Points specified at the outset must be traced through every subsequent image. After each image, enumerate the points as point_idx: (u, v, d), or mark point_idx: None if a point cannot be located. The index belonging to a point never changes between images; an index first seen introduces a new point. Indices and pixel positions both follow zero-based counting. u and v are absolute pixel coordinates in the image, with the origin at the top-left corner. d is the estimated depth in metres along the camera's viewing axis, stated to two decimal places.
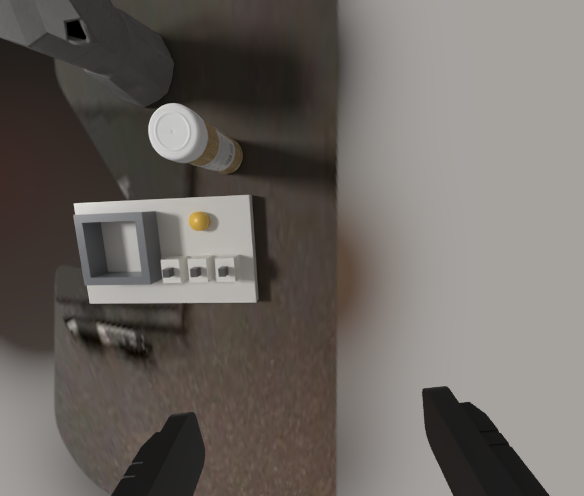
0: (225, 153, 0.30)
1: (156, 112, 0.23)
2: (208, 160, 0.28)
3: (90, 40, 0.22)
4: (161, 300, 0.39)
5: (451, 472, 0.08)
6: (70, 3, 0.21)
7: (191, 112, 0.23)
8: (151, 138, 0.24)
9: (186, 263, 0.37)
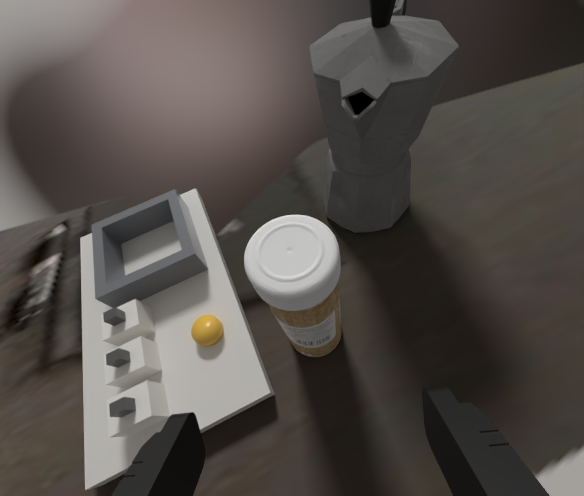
0: (309, 336, 0.18)
1: (308, 218, 0.14)
2: (282, 319, 0.16)
3: (357, 118, 0.16)
4: (85, 319, 0.27)
5: (451, 472, 0.08)
6: (386, 87, 0.16)
7: (334, 267, 0.12)
8: (266, 225, 0.14)
9: (141, 335, 0.24)
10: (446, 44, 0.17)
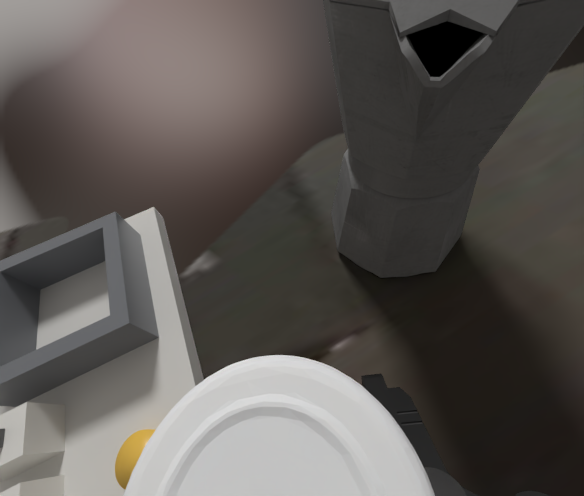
0: None
1: (327, 382, 0.04)
2: None
3: (442, 81, 0.06)
4: None
5: None
6: (511, 6, 0.06)
7: None
8: (198, 398, 0.05)
9: (38, 460, 0.15)
10: None
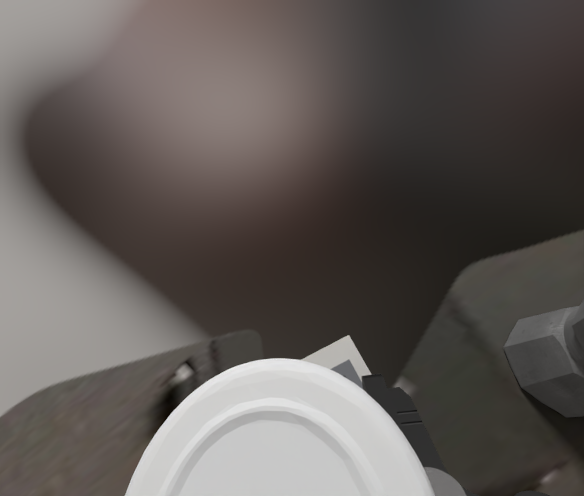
0: None
1: (328, 386, 0.04)
2: None
3: None
4: None
5: None
6: None
7: None
8: (198, 402, 0.05)
9: None
10: None
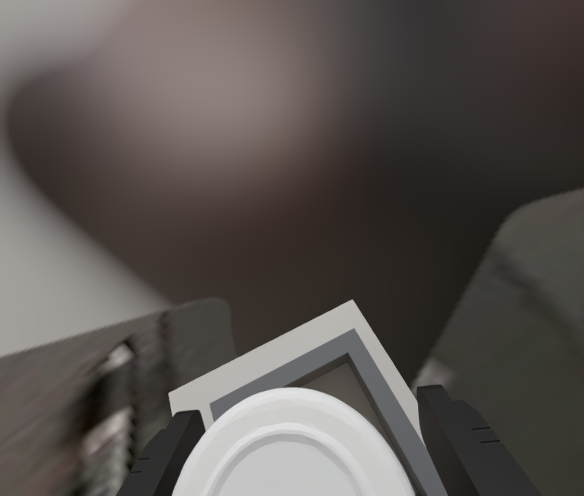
0: None
1: (334, 413, 0.05)
2: None
3: None
4: None
5: (444, 469, 0.08)
6: None
7: None
8: (227, 425, 0.06)
9: None
10: None
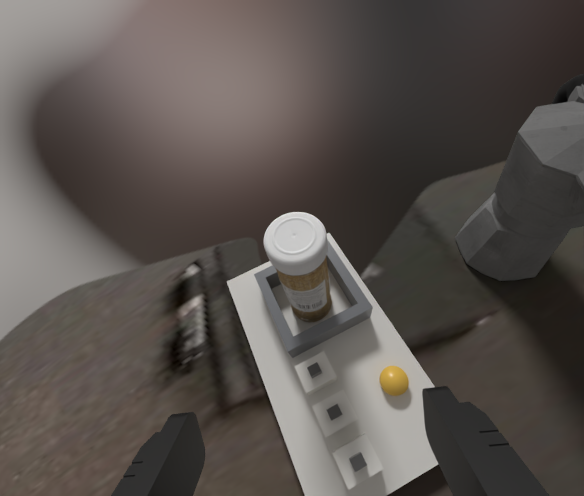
0: (306, 300, 0.25)
1: (306, 214, 0.21)
2: (287, 285, 0.23)
3: None
4: (261, 366, 0.29)
5: (451, 472, 0.08)
6: None
7: (322, 246, 0.19)
8: (278, 219, 0.21)
9: (328, 384, 0.26)
10: None
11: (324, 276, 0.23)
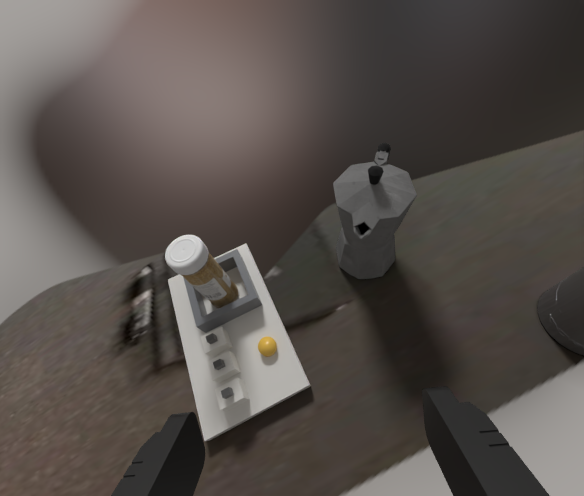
0: (205, 291, 0.37)
1: (193, 236, 0.33)
2: (188, 281, 0.35)
3: (361, 238, 0.30)
4: (183, 338, 0.41)
5: (451, 472, 0.08)
6: (377, 221, 0.30)
7: (198, 257, 0.32)
8: (176, 239, 0.33)
9: (224, 349, 0.39)
10: (409, 194, 0.31)
11: (213, 275, 0.35)
